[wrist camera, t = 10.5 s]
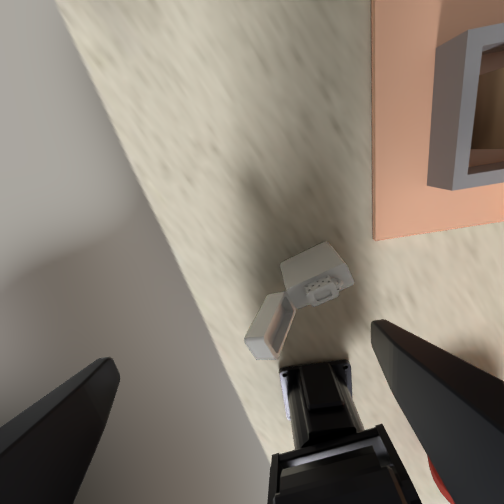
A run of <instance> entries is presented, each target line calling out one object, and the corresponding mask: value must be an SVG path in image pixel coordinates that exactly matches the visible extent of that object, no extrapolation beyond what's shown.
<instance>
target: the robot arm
mask: <svg viewBox="0 0 504 504" xmlns="http://www.w3.org/2000/svg"><path fill="white" fill-rule="evenodd" d="M371 344H372V348H373V350H374V352H375V355H376V357H377V359H378V361H379V364H380V366H381V368H382V371H383V373H384V375H385V378H386V380H387V382H388V384H389V387H390V389H391V391H392V393H393V395H394V397H395V399H396V400H397V402H398V404H399V406H400V408H401V409H402V411H403V413H404V415H405V416H406V418H407V420H408V422H409V423H410V425H411V427H412V429H413V430H414V432H415V434H416V436H417V438H418V439H419V441H420V443H421V445H422V446H423V448H424V450H425V452H426V453H427V455H428V457H429V459H430V460H431V462H432V464H433V466H434V467H435V469H436V471H437V473H438V475H439V476H440V478H441V480H442V482H443V483H444V485H445V487H446V489H447V490H448V492H449V494H450V496H451V497H452V499H453V501H454V503H455V504H504V381H503V380H501V379H499V378H497V377H495V376H493V375H491V374H489V373H487V372H485V371H483V370H481V369H479V368H477V367H476V366H474V365H472V364H470V363H468V362H466V361H464V360H462V359H460V358H458V357H456V356H454V355H452V354H451V353H449V352H447V351H445V350H443V349H441V348H439V347H437V346H435V345H433V344H431V343H429V342H427V341H425V340H424V339H422V338H420V337H418V336H416V335H414V334H412V333H410V332H408V331H406V330H404V329H402V328H400V327H398V326H397V325H395V324H393V323H391V322H389V321H387V320H384V319H382V320H375V321H372V322H371ZM344 365H346V366H344ZM283 373H286V374H283ZM279 375H280V381H281V387H282V393H283V398H284V404H285V410H286V416H287V419H288V420H290V421H291V425H292V432H293V439H294V446H295V450H293V451H289V452H286V453H282V454H279V453H277V454H273V455H272V462H271V467H270V478H269V491H268V503H267V504H422V503H421V500H420V498H419V496H418V494H417V492H416V490H415V488H414V485H413V483H412V481H411V479H410V477H409V475H408V473H407V471H406V469H405V467H404V465H403V463H402V461H401V459H400V457H399V456H398V454H397V452H396V450H395V448H394V446H393V444H392V442H391V440H390V438H389V436H388V434H387V432H386V430H385V428H384V426H383V424H379V425H376V426H375V427H374V428H371V429H367V430H365V429H364V427H363V424H362V422H361V419H360V417H359V414H358V412H357V410H356V407H355V405H354V402H353V400H352V380H351V365H350V363H349V361H347V360H339V361H331V362H323V363H316V364H308V365H300V366H292V367H284V368H281V369H280V371H279ZM119 382H120V374H119V372H118V369H117V367H116V365H115V363H114V360H113V359H112V358H111V357H105V358H99V359H97V360H96V361H94V362H93V363H91V364H90V365H88V366H87V367H86V368H84V369H83V370H81V371H80V372H78V373H77V374H76V375H74V376H73V377H71V378H70V379H69V380H67V381H66V382H65V383H63V384H61V385H60V386H59V387H57V388H56V389H54V390H53V391H51V392H50V393H49V394H47V395H46V396H44V397H43V398H42V399H40V400H39V401H38V402H36V403H34V404H33V405H32V406H30V407H29V408H27V409H26V410H24V411H23V412H22V413H20V414H19V415H17V416H16V417H14V418H13V419H12V420H10V421H9V422H7V423H6V424H4V425H3V426H2V427H0V504H73V503H74V501H75V499H76V496H77V494H78V491H79V489H80V487H81V484H82V482H83V479H84V477H85V475H86V472H87V470H88V467H89V465H90V463H91V460H92V458H93V455H94V453H95V451H96V448H97V445H98V443H99V441H100V439H101V436H102V434H103V431H104V429H105V426H106V423H107V420H108V417H109V414H110V411H111V408H112V405H113V401H114V398H115V395H116V392H117V389H118V386H119Z"/></svg>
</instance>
